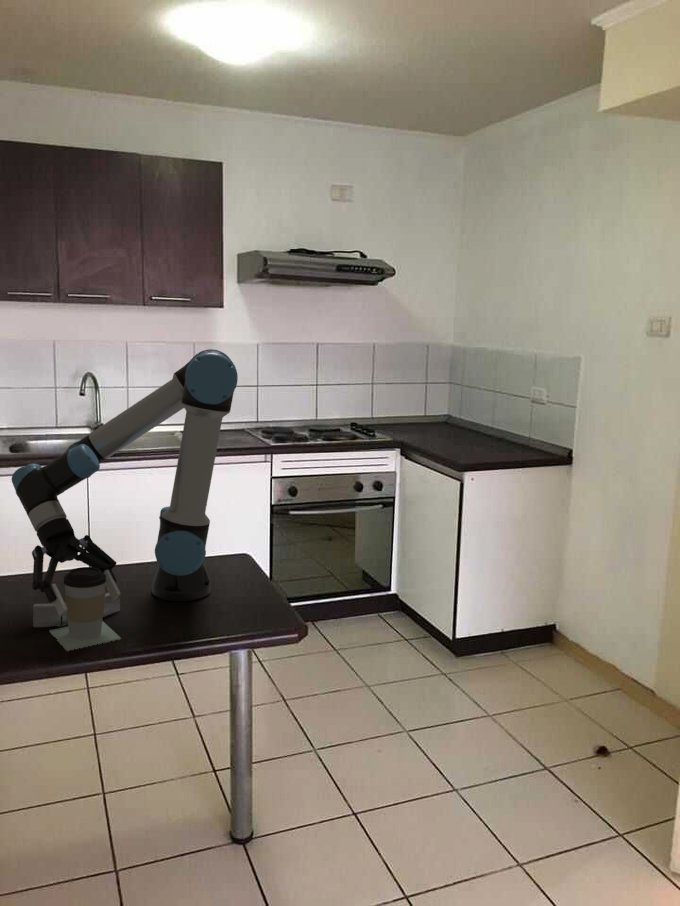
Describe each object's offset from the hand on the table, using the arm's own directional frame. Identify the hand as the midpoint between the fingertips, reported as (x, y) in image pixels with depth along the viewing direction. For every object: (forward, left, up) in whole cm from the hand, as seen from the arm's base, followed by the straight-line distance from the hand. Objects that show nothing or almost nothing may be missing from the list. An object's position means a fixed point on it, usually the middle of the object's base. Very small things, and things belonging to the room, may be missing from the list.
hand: (91, 604), depth 170 cm
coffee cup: (+1, -2, -8) cm, 8 cm away
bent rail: (-1, -12, -8) cm, 15 cm away
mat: (+1, -2, -8) cm, 8 cm away
